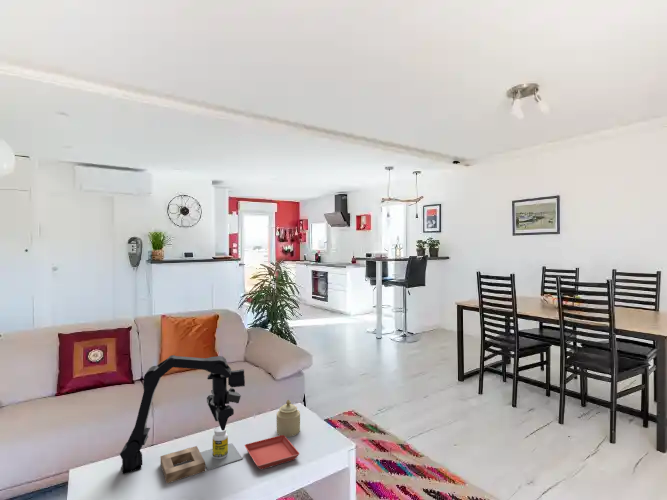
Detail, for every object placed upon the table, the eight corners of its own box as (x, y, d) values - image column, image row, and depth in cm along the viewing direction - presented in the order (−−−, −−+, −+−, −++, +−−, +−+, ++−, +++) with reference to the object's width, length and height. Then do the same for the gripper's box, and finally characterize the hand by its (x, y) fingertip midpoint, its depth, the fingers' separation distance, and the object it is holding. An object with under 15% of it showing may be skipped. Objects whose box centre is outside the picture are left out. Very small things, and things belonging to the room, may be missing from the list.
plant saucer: (283, 441, 171) (283, 433, 171) (300, 461, 155) (300, 453, 155) (244, 452, 162) (243, 444, 162) (257, 474, 146) (257, 466, 146)
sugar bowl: (269, 425, 184) (269, 395, 184) (290, 420, 190) (290, 390, 190) (282, 439, 172) (282, 406, 172) (304, 432, 178) (304, 400, 177)
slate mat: (207, 470, 149) (207, 469, 149) (199, 453, 160) (199, 452, 160) (242, 459, 156) (242, 458, 156) (232, 443, 168) (232, 443, 168)
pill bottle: (213, 461, 154) (213, 434, 154) (211, 453, 160) (211, 427, 159) (229, 457, 157) (229, 430, 157) (226, 449, 162) (226, 424, 162)
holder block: (166, 483, 141) (166, 474, 141) (160, 464, 152) (160, 456, 152) (205, 471, 148) (205, 462, 148) (196, 454, 160) (196, 445, 160)
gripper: (246, 391, 154) (246, 429, 155) (231, 377, 170) (232, 412, 170) (218, 397, 148) (218, 437, 149) (206, 382, 164) (206, 418, 164)
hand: (219, 425), depth 158 cm, fingers open, 9 cm apart
